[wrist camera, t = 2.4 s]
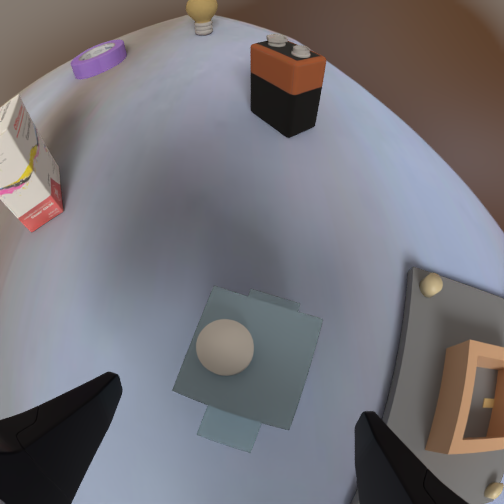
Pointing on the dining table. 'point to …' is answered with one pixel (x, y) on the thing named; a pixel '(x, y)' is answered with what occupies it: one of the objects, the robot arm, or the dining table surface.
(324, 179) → the dining table surface
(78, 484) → the robot arm
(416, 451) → the chassis plate
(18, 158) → the ink cartridge box
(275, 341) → the block
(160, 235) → the dining table surface
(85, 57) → the masking tape
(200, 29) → the light bulb
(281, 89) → the battery
